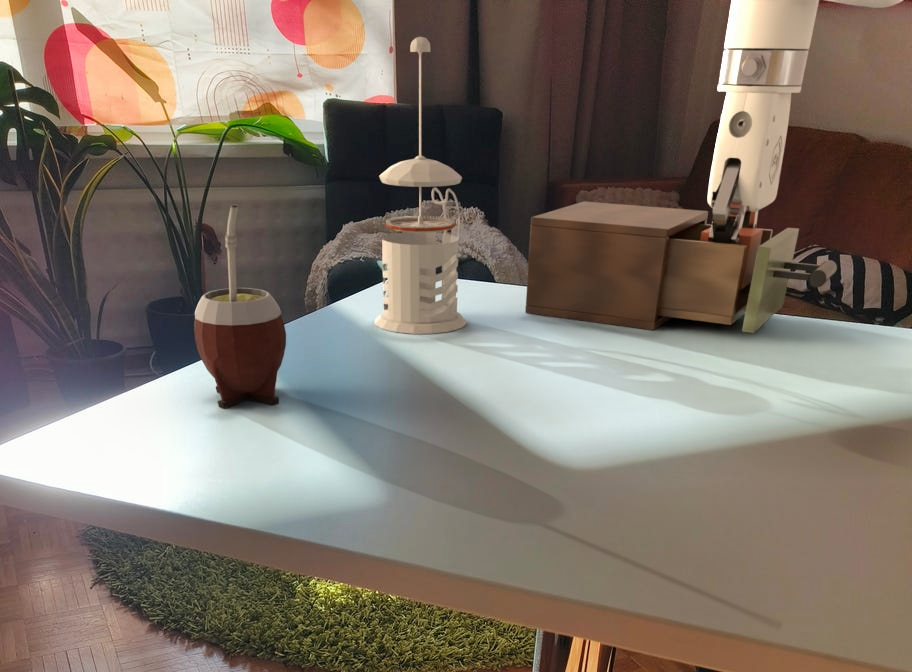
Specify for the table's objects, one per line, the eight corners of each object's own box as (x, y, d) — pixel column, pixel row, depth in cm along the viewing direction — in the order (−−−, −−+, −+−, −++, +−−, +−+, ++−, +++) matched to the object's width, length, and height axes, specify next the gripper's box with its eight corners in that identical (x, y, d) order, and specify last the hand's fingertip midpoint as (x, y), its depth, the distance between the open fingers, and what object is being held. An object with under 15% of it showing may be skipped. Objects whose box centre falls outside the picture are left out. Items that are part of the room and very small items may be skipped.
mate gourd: (243, 379, 77) (221, 185, 69) (316, 394, 74) (302, 192, 65) (181, 403, 72) (149, 196, 63) (256, 420, 68) (233, 204, 60)
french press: (355, 325, 93) (344, 35, 79) (413, 304, 101) (412, 38, 87) (437, 338, 88) (440, 34, 75) (490, 315, 97) (502, 38, 83)
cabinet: (693, 302, 102) (708, 211, 97) (653, 330, 92) (667, 229, 87) (575, 288, 109) (583, 201, 103) (525, 312, 98) (530, 217, 93)
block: (753, 280, 94) (763, 229, 91) (741, 289, 90) (751, 236, 88) (706, 275, 96) (714, 225, 93) (692, 283, 92) (701, 231, 90)
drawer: (830, 311, 95) (850, 232, 91) (806, 340, 86) (826, 252, 81) (662, 291, 103) (673, 218, 99) (623, 315, 93) (632, 234, 89)
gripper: (783, 75, 75) (740, 300, 85) (820, 73, 88) (778, 270, 98) (695, 73, 78) (664, 291, 88) (743, 72, 91) (710, 263, 101)
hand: (724, 278), depth 93 cm, fingers closed on block, 5 cm apart
